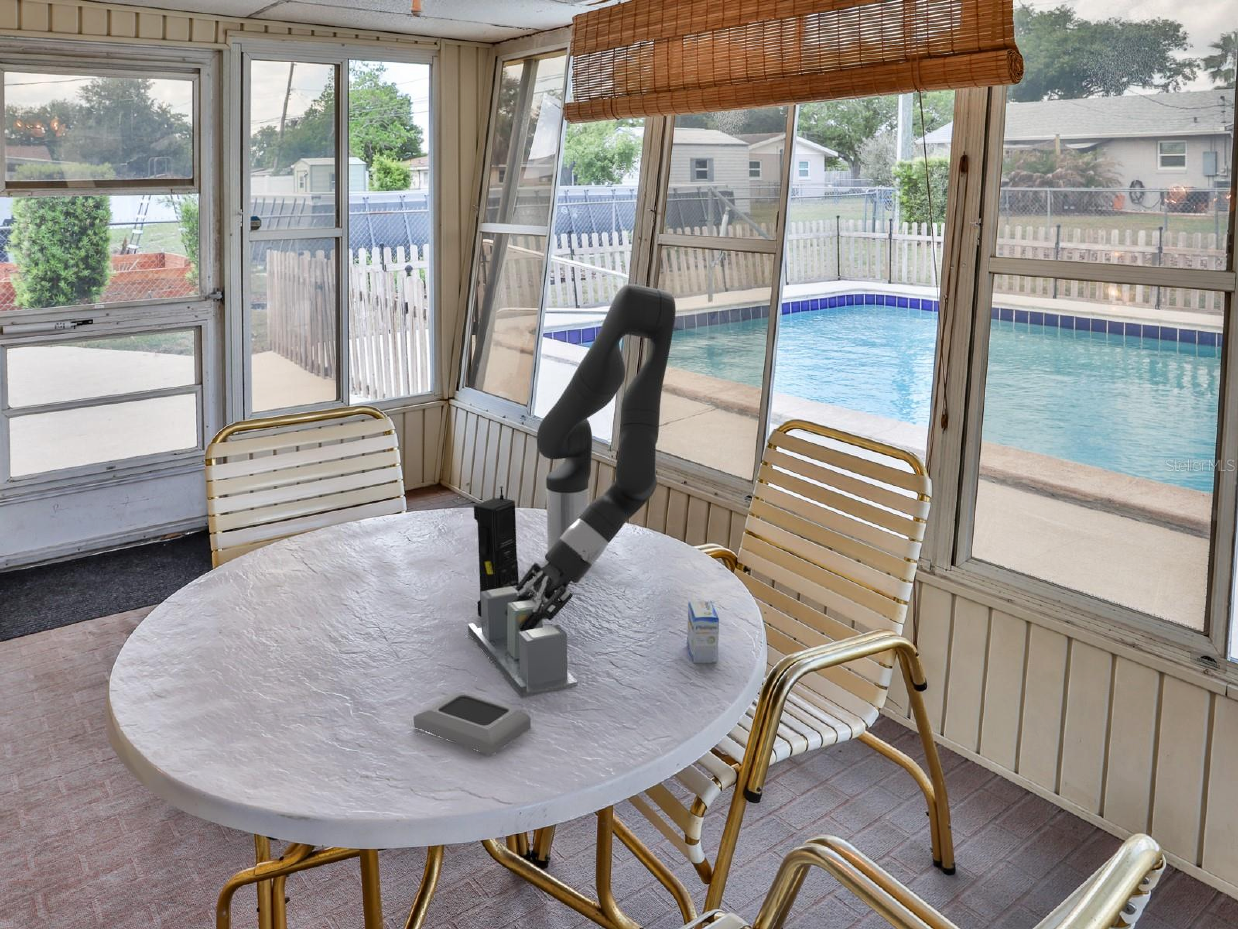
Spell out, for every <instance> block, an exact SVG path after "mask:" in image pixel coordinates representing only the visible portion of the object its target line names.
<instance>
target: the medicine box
mask: <svg viewBox="0 0 1238 929" xmlns="http://www.w3.org/2000/svg"><path fill="white" fill-rule="evenodd" d="M687 605H688V606H687V629H686V630H687V632H686V634H687V636H686V645H687V647H688V648H687V649H688V651H689V654H690V656H691V657H690V658H691V659H692V662H693V664H707V663H708V664H713V663H718V660H719V635H720V634H719V633H720V617H719V615H718V613H717V610H716V609H715V606H714V603H713V601H712V600H689V601H688V603H687Z"/></svg>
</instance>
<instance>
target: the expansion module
mask: <svg viewBox="0 0 1238 929" xmlns="http://www.w3.org/2000/svg"><path fill="white" fill-rule="evenodd" d="M536 602H537V599H536V598H535V599H533V600H526V601H518V602H511V603H508V611H507V651H508V652H509V654H510V655H511V656H512V657H513V658H514V659H515V660H516V659H519V632H521V630H520V629H519V625H520V624H521V623H522V622H523V620H524V619H525V618H526V617H527V616H528V614H529V613H530V612H531V611H532V612H533V609H534V607H535V605H536ZM542 606H543V605H542ZM542 606H541V607H542ZM542 627H543V619H542V620H541V621H540V622H539V623H538V624H537V625H536V626H535V628H534V629H537V628H542Z"/></svg>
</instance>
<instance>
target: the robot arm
mask: <svg viewBox="0 0 1238 929" xmlns="http://www.w3.org/2000/svg"><path fill="white" fill-rule="evenodd" d="M676 307H677V306H676V301H675V298H674V296H673V294H671V293H670V292H669V291H665V290H663V289H659V288H654V287H650V286H649V287H648V286H644V285H640V284H636V283H635V284H634V283H628V284H625V285H624V286H622V287H621V288H620V289H619V290H618V291H617V293H616V295H615V296H614V298H613V300H612V302H611V305H610V307H609V309H608V310H607V314H606V315H605V319H604V320H603V323H602V325H601V327H600V328H599V331H598V332H597V335H596V337H595V339H594V341H593V343H592V344H591V346H590V347H589V349H588V351H587V352H586V354H585V356H584V357H583V358H582V360H581V361H580V363H579V365H578V367H577V369H575V371H574V374H573V375H572V377H571V379H570V380H569V383H568V384H567V385H566V388H565V389H564V391H563V392H562V393H561V395H560V397H559V399H558V400H556V402H555V404H554V405H553V407H551V409H550V410H549V411H548V412H547V414H546V415H545V416H544V417H543V419H542V420H541V422H540V425H539V427H538V429H537V435H536V445H537V450H538V451H539V453H540V454H541V456H542V457H544V458H546V459H549V460H561V459H565V460H564V461H563V463H561V464H560V465H559V466H558V467H557V468H555V469H554V470H552V471H551V472H549V473H548V474H547V475H546V478H545V487H546V488H545V489H546V497H545V498H546V536H547V539H546V541H547V543H546V544H547V546H546V548H547V552H546V554H545V556H544V559H545V560H546V561H547V563H546V564H545V565H544V566H543V567H542V566H541V565H539V564H538V563H537V562H534V563H533V564H532V565H531V567H530V568H529V569H528V571H527V572H526V573H525V575H524V576H523V577H522V579H521V580H520V581H519V584H518V585H517V586H516V590H517V591H518V593H517V598H516V599H515V600H514V601H513V602H518V601H526V600H533V599H535V600H536V601H537V602H536V605H535V607H534V609H533V612H532V611H531V612H530V613H529V614H528V616H527V617H526V618H525V619H524V620H523V622H522V623H521V624H520V625H519V629H520V630H521V631H526V630H532V629H534V628H535V626H536V625H537V624H538V623H539V622H540V621H541V620H542V621H543V620H546V619H547V620H548V621H552V620H553V619H554V618H555V617H556V616H557V614H559V613H560V611H561V610H562V609H563V608H564V607H566V605H567V603H568V602H569V601H570V600H571V599H572V598H573V596H574V595H573V594H574V593H572V592H571V591H570V590H568V586H569V584H570V583H571V582H572V583H574V584H578V583H579V582H580V581H581V580H582V578H583V577H584V576H585V575H586V574H587V572H588V571H589V570H590V569H591V568H592V567H593V565H595V563H596V562H597V561H598V559H599V558H600V557H601V555H602V554H603V553H604V551H605V550H606V548H607V546H608V545H609V544H610V543H611V541H612V540H613V539H614V538H615V536H616V535H617V534H618V533H619V531H620V530H621V529H622V528H623V526H624V525H625V524H626V522H628V520H629V519H630V518H632V517H633V516H634V515H635V514H636V513H637V512H638V511H639V510H641V508H643V506H644V505H645V504H646V503H647V502H648V501H649V500H650V499H651V497H652V495H653V494H654V493H655V491H656V488H657V483H658V481H657V475H656V451H657V448H656V446H657V443H658V440H659V431H660V414H661V398H662V392H663V387H664V386H663V385H664V380H665V376H666V375H665V374H666V369H667V365H668V360H669V355H670V349H671V345H672V338H673V334H674V328H675V322H676V312H677V310H676ZM627 335H628V336H632V337H633V336H634V337H639V338H644V339H648V340H649V341H650V343H649V345H650V346H649V351H648V355H647V358H646V360H645V362H644V364H643V365H642V367H641V368H640V370H639V371H638V373H637V374H636V376H635V377H634V378H633V379H632V381H631V382H630V384H629V385H628V387H627V388H626V390H625V392H624V394H623V397H622V400H621V401H622V402H621V408H620V421H619V422H620V424H619V427H620V428H619V444H618V451H617V455H616V456H617V457H616V464H615V466H616V467H615V481H614V482H613V483H612V484H611V485H610V486H609V487H608V488H607V490H606V491H605V492H604V494H602V495H600V496H598V497H596V498H595V499H594V500H592V502H591V503H589V500H590V499H589V492H590V490H589V480H590V478H591V473H592V472H591V471H592V453H593V452H592V450H593V433H592V427H591V424H590V421H589V420H588V418H590V417H592V416H594V415H595V414H596V413H598V412H599V411H601V410H602V409H604V408H605V407H606V406H607V405H608V404H609V403H610V402H611V401H612V400H613V399H614V398H615V395H617V393H618V391H619V390H620V388H621V386H622V385H623V383H624V381H625V378H626V365H625V361H624V357H623V355H622V351H621V347H620V342H621V340H622V338H623V337H624V336H627ZM541 606H542V607H541ZM551 609H552V610H551ZM507 611H508V608H507V610H506V611H505V614H506V615H507Z"/></svg>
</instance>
